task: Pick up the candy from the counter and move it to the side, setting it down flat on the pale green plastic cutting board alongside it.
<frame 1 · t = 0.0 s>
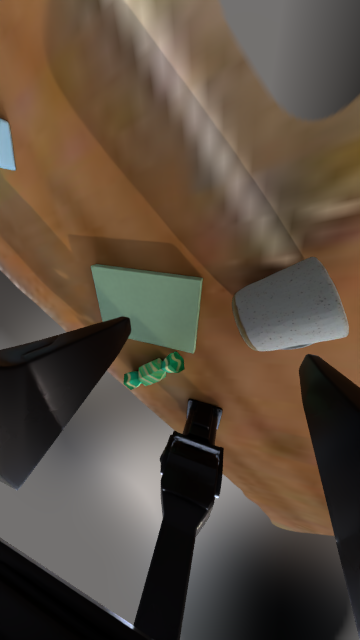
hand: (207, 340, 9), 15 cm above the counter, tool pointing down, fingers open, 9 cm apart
candy: (156, 364, 34), on the counter
cutting board: (147, 308, 28), on the counter
ceramic mug: (283, 304, 22), on the counter
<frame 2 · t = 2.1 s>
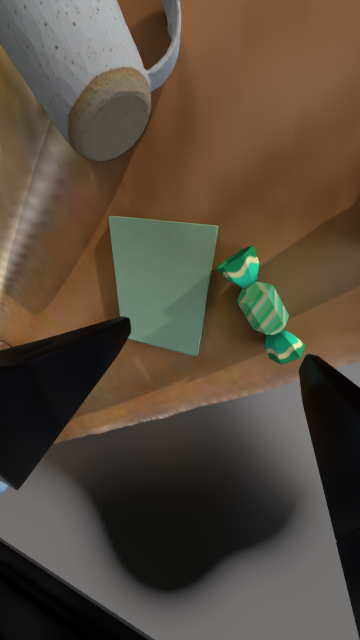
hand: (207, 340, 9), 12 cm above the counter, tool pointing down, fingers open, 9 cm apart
candy: (260, 301, 20), on the counter
sauce bottle: (8, 349, 43), on the counter
cutting board: (161, 291, 23), on the counter
ceramic mug: (123, 76, 15), on the counter
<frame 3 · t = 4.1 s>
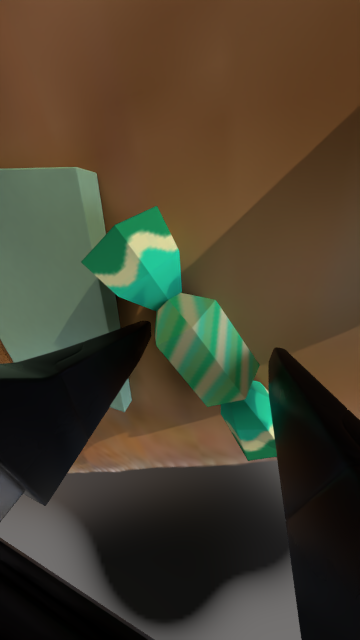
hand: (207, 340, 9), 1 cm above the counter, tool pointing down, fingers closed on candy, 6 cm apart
candy: (210, 328, 10), on the counter, touching gripper
cutting board: (52, 310, 13), on the counter
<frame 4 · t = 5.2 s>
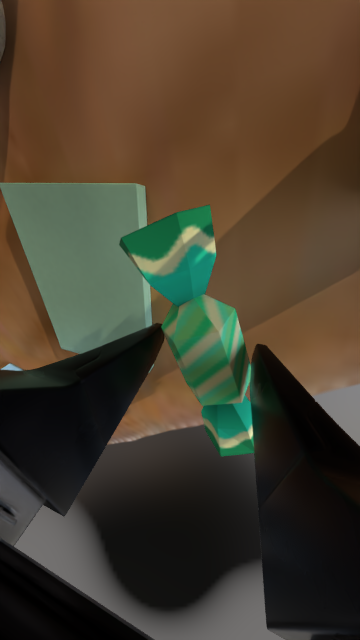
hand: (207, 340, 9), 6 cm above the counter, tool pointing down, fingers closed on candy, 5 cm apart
candy: (209, 331, 11), point 4 cm above the counter, touching gripper
cutting board: (95, 289, 17), on the counter
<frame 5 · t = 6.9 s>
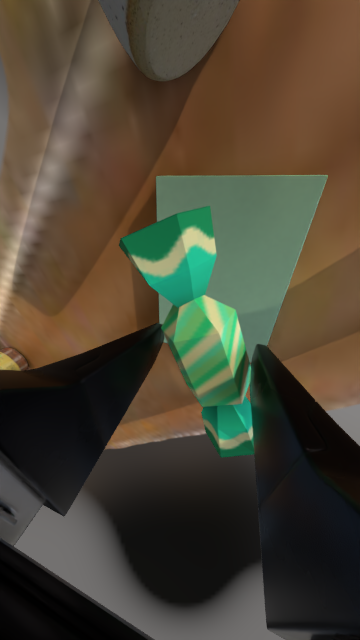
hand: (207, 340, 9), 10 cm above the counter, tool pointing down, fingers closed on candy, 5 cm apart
candy: (209, 332, 11), point 8 cm above the counter, touching gripper
sauce bottle: (18, 357, 38), on the counter
cutting board: (217, 281, 18), on the counter
when the fingers open (3 cm above the counter, at t = 8.9 s): candy stays where it is, resting on cutting board.
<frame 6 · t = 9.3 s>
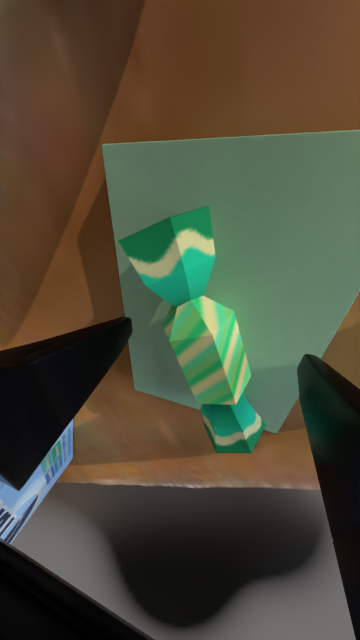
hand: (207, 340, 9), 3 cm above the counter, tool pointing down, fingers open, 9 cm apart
gum box: (62, 427, 30), on the counter
candy: (211, 330, 11), point 1 cm above the counter, touching cutting board
cutting board: (214, 317, 11), on the counter
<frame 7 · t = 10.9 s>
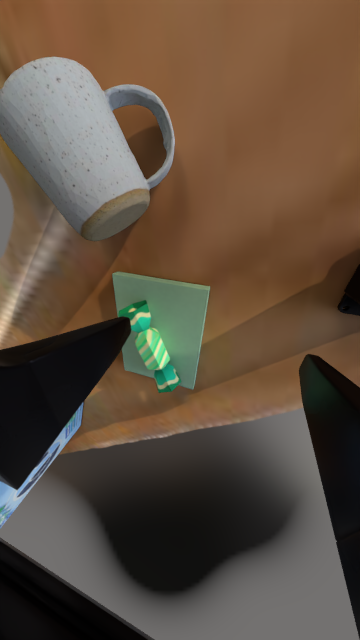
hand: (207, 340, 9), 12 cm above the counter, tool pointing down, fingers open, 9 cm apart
gum box: (75, 401, 44), on the counter
candy: (158, 340, 25), point 1 cm above the counter, touching cutting board
cutting board: (160, 333, 25), on the counter
ceramic mug: (125, 168, 17), on the counter
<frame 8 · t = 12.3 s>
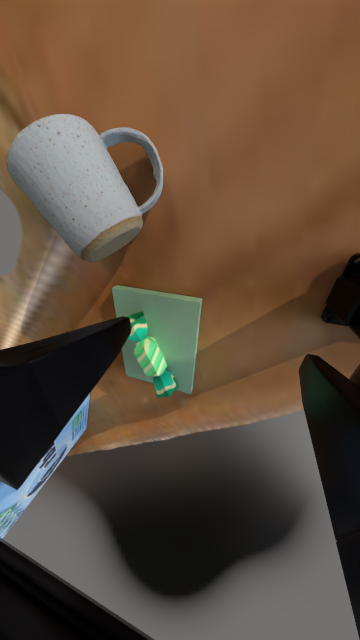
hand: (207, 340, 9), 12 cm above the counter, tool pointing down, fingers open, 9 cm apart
gum box: (81, 405, 46), on the counter
candy: (156, 348, 26), point 1 cm above the counter, touching cutting board
cutting board: (158, 341, 27), on the counter
ceramic mug: (121, 194, 19), on the counter
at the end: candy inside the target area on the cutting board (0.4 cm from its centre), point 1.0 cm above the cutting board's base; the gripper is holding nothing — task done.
